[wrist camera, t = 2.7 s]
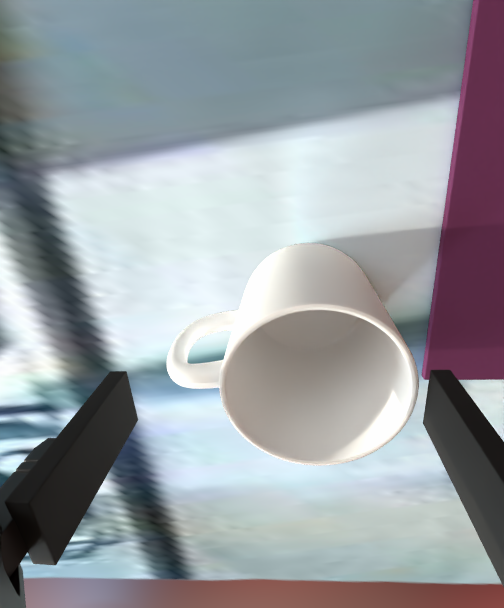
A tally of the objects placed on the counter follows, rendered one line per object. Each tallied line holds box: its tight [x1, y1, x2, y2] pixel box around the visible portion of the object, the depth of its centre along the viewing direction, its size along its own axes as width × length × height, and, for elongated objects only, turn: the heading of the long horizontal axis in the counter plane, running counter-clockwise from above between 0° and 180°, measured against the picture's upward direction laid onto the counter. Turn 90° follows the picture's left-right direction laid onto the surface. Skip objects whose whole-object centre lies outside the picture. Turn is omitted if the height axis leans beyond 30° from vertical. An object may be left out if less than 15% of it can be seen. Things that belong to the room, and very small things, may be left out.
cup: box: [167, 243, 419, 465], centre depth 20 cm, size 8×12×10 cm
